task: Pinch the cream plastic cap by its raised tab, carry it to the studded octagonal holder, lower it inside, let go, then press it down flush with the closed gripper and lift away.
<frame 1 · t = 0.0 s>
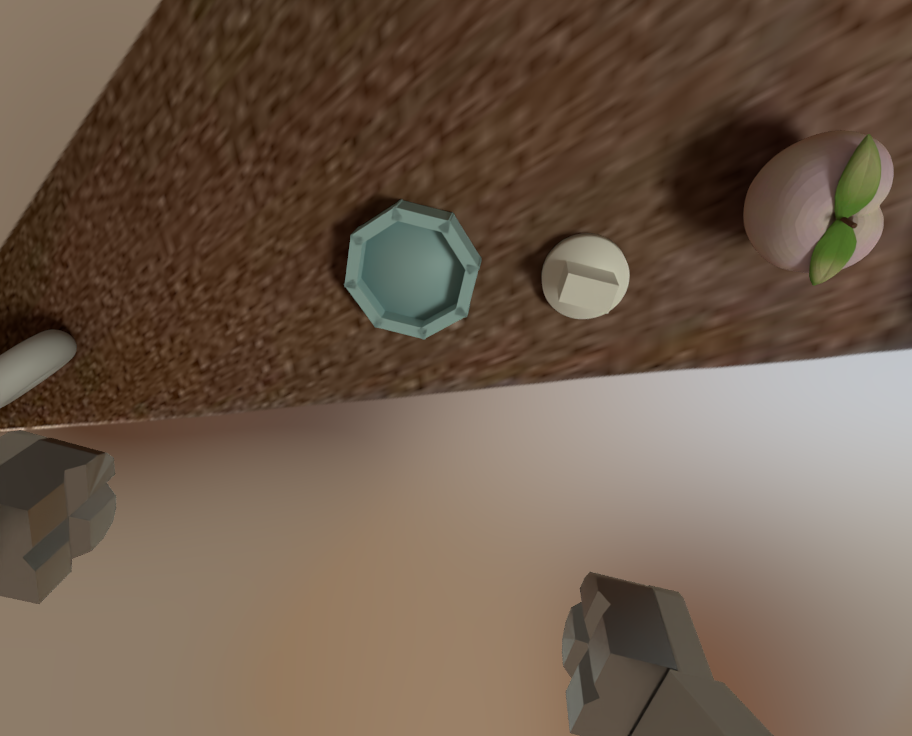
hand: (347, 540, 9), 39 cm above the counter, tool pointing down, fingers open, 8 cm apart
decorative fruit: (781, 190, 42), on the counter
cap: (583, 273, 47), on the counter
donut: (62, 344, 56), on the counter
studded octagonal holder: (415, 266, 48), on the counter
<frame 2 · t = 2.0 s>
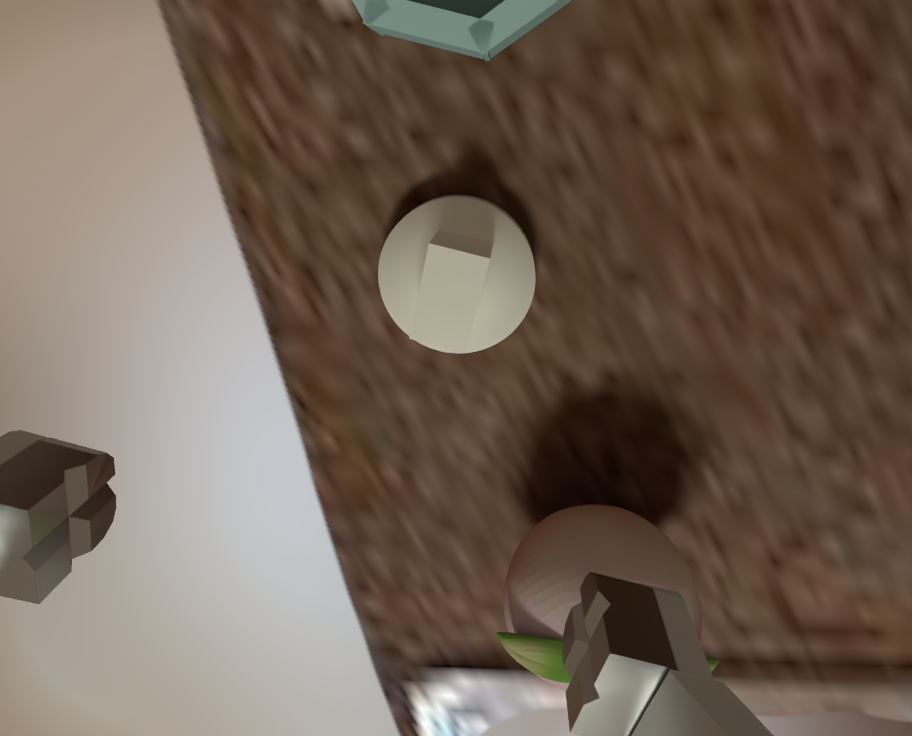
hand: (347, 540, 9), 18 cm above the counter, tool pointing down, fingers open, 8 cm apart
decorative fruit: (584, 520, 31), on the counter
cap: (459, 271, 26), on the counter
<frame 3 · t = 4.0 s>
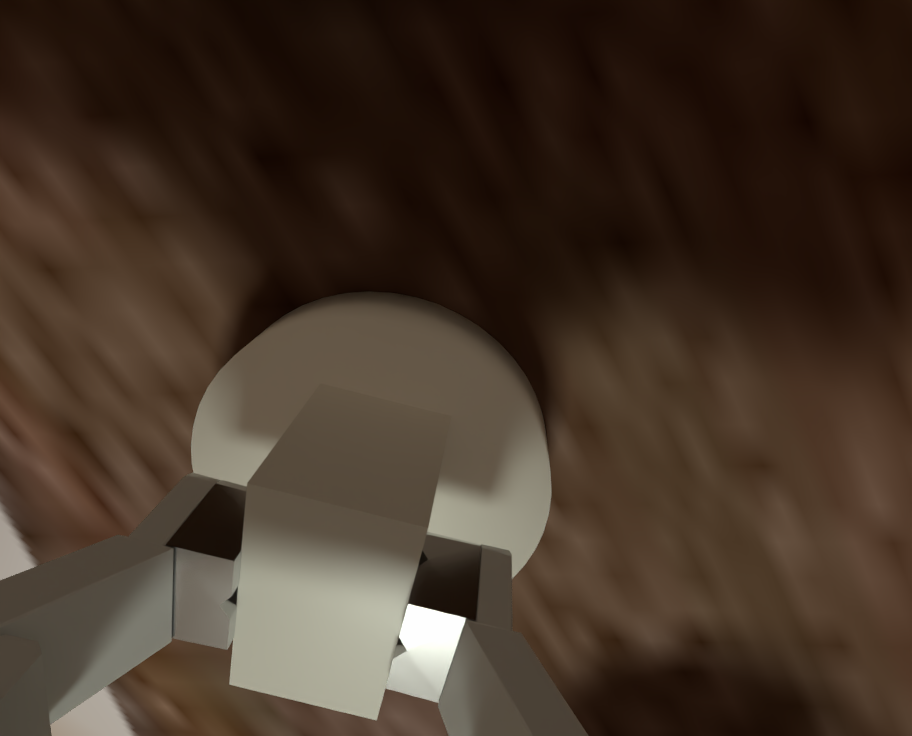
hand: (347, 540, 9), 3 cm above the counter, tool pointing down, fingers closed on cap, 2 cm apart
cap: (384, 447, 12), on the counter, touching gripper
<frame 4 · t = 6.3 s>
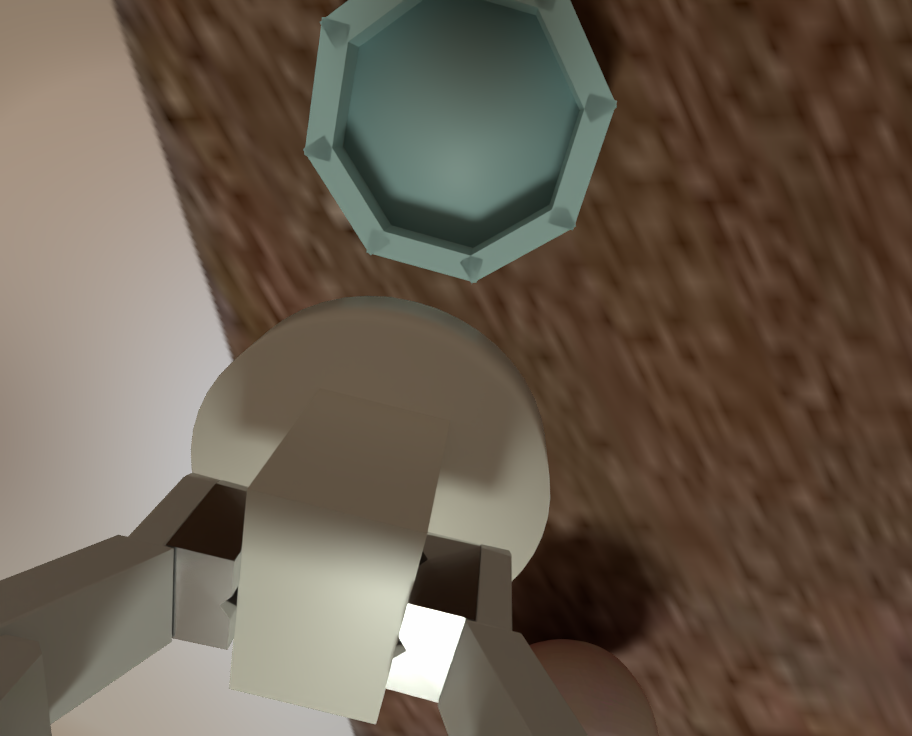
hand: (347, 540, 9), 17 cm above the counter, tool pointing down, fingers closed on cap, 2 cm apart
decorative fruit: (559, 639, 34), on the counter
cap: (383, 451, 12), point 14 cm above the counter, touching gripper
studded octagonal holder: (460, 128, 22), on the counter
when the fingers open (5 cm above the counter, at t = 8.6 s): cap stays where it is, resting on studded octagonal holder.
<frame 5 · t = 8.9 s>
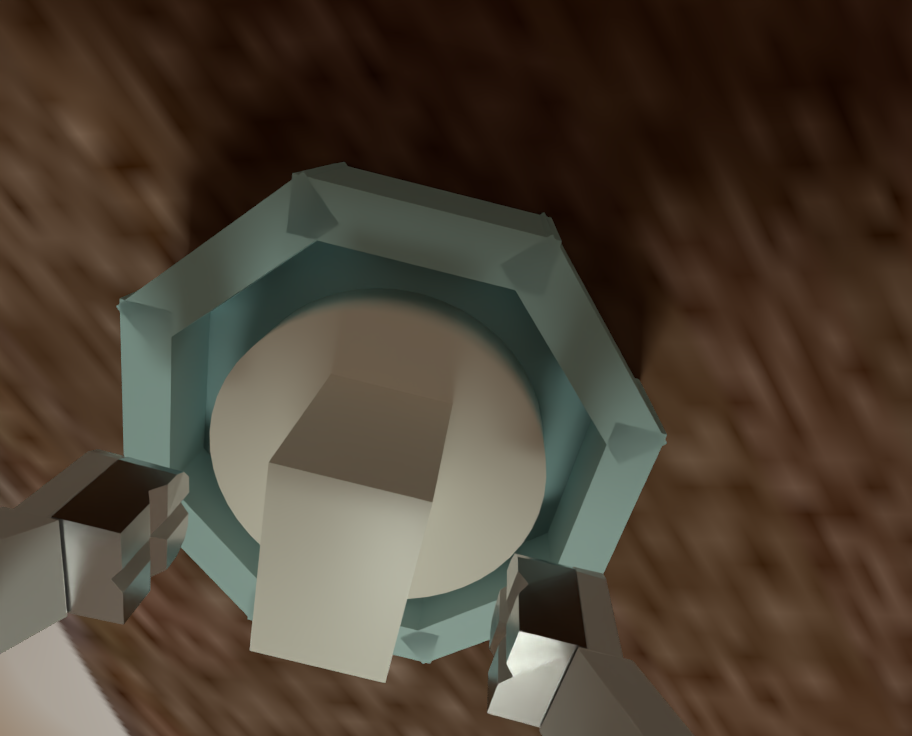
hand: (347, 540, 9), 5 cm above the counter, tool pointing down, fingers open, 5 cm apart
cap: (389, 435, 13), point 1 cm above the counter, touching studded octagonal holder
studded octagonal holder: (397, 408, 14), on the counter
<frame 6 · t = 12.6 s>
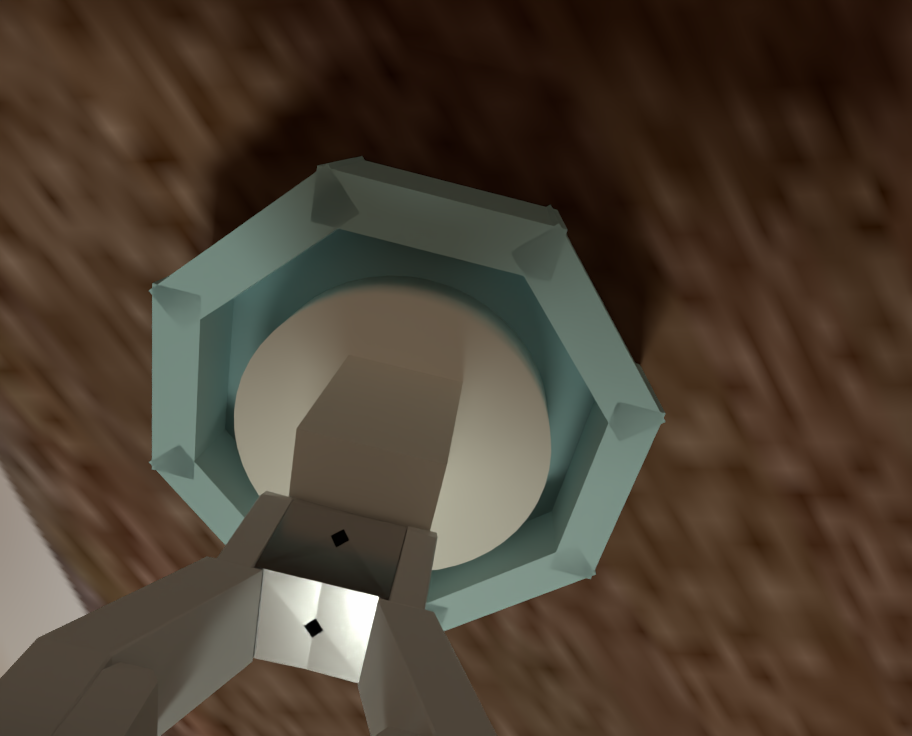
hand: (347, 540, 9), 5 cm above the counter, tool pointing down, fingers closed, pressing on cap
cap: (402, 416, 14), point 1 cm above the counter, touching studded octagonal holder, gripper
studded octagonal holder: (409, 392, 14), on the counter
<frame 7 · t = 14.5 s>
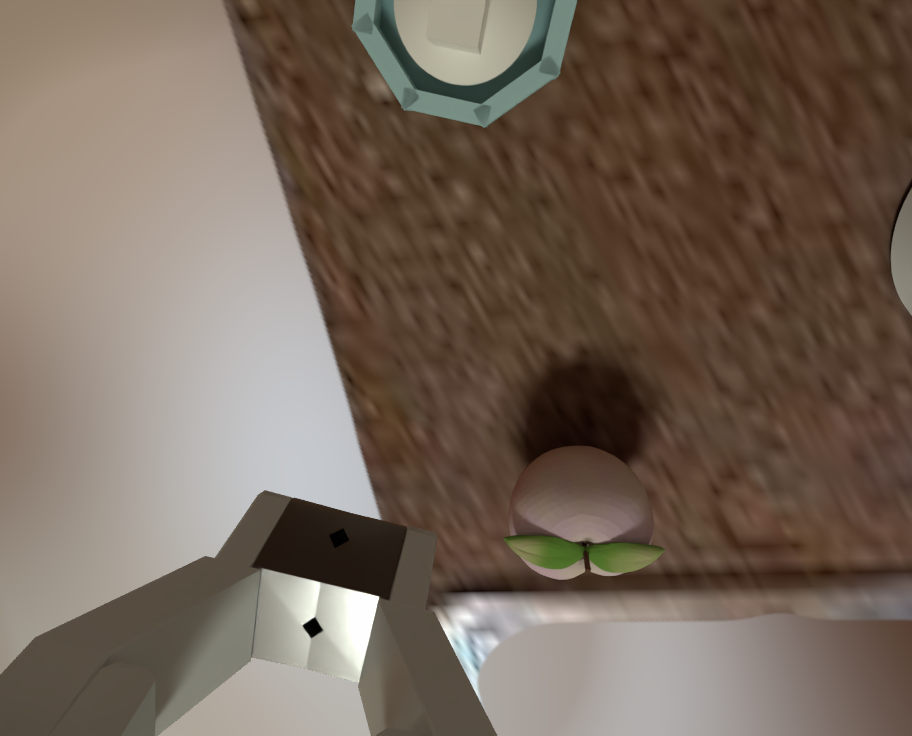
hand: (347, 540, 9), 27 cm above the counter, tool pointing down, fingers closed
decorative fruit: (568, 464, 40), on the counter
cap: (466, 9, 28), point 1 cm above the counter, touching studded octagonal holder
studded octagonal holder: (468, 9, 29), on the counter
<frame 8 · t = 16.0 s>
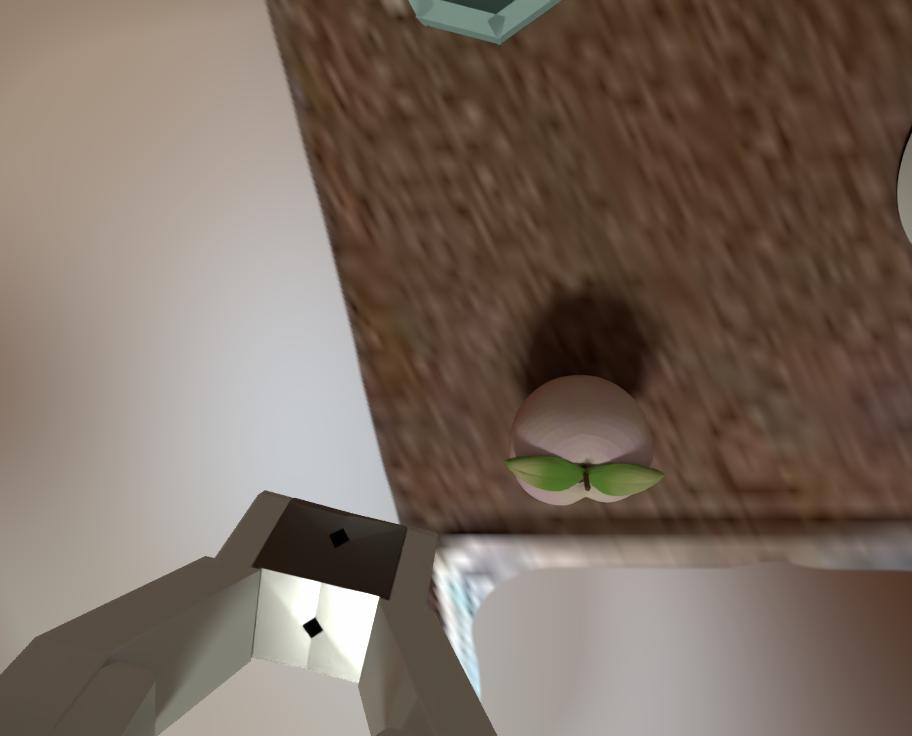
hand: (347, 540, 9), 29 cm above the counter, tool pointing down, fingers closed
decorative fruit: (570, 401, 40), on the counter
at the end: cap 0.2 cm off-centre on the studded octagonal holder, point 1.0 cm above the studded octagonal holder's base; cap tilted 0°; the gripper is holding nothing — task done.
